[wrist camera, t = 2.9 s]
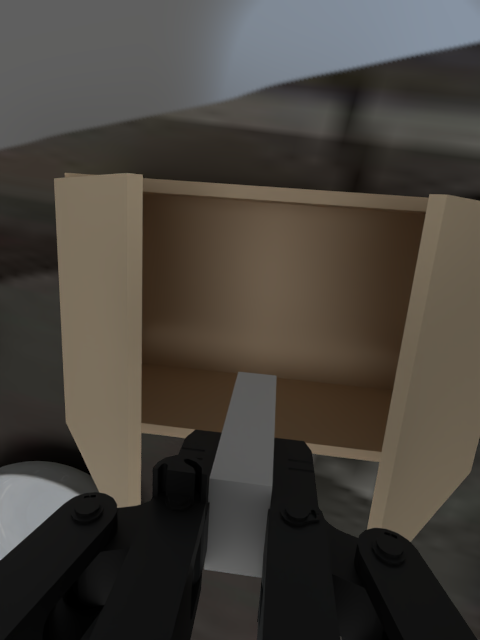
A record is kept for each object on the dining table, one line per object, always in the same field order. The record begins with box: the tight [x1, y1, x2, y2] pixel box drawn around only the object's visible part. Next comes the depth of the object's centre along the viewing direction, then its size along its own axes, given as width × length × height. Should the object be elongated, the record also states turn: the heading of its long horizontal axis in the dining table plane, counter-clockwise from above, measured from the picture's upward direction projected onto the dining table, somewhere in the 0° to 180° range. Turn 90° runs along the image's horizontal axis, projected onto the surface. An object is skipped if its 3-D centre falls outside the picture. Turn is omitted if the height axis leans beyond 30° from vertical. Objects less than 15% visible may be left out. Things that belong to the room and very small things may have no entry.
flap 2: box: [367, 194, 480, 542], centre depth 21 cm, size 17×14×1 cm
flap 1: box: [54, 173, 143, 508], centre depth 23 cm, size 17×14×1 cm
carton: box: [65, 173, 429, 462], centre depth 33 cm, size 18×28×12 cm, turn 86°
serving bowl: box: [0, 461, 99, 560], centre depth 45 cm, size 21×21×7 cm
